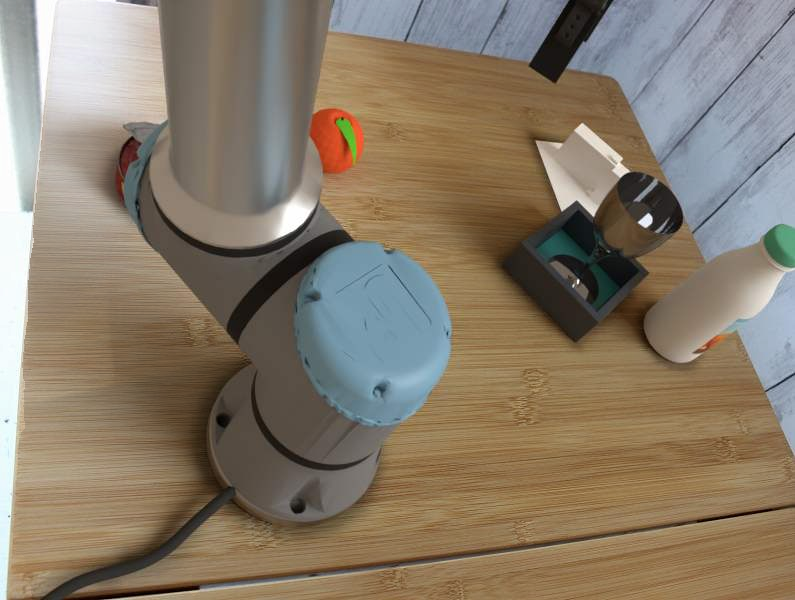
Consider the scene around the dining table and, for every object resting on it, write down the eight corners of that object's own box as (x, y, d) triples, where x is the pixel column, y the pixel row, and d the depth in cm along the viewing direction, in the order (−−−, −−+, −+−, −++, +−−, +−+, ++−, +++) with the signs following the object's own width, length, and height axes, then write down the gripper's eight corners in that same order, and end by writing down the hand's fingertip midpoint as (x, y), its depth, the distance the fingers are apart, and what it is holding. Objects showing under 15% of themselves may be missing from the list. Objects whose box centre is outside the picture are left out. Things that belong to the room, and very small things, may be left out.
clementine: (366, 188, 93) (389, 146, 87) (313, 199, 89) (333, 156, 84) (335, 133, 96) (356, 89, 90) (281, 141, 92) (300, 96, 86)
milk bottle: (656, 367, 96) (784, 274, 80) (631, 309, 99) (749, 208, 84) (706, 363, 99) (837, 273, 84) (680, 306, 103) (801, 210, 87)
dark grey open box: (575, 343, 93) (599, 322, 89) (501, 265, 95) (521, 242, 91) (626, 293, 100) (649, 272, 97) (556, 222, 102) (576, 199, 98)
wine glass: (571, 242, 100) (647, 163, 88) (613, 294, 98) (696, 220, 86) (529, 265, 95) (603, 183, 84) (572, 319, 93) (654, 244, 82)
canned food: (109, 196, 85) (95, 102, 80) (205, 180, 89) (198, 90, 84) (137, 248, 77) (124, 148, 72) (241, 228, 81) (236, 132, 76)
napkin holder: (533, 140, 109) (556, 110, 104) (603, 147, 114) (627, 118, 109) (570, 235, 102) (596, 207, 97) (642, 238, 107) (670, 211, 102)
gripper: (752, -152, 52) (566, 120, 65) (760, -172, 72) (616, 40, 85) (650, -217, 52) (486, 68, 65) (687, -218, 72) (554, 0, 85)
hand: (559, 53), depth 75 cm, fingers open, 13 cm apart
